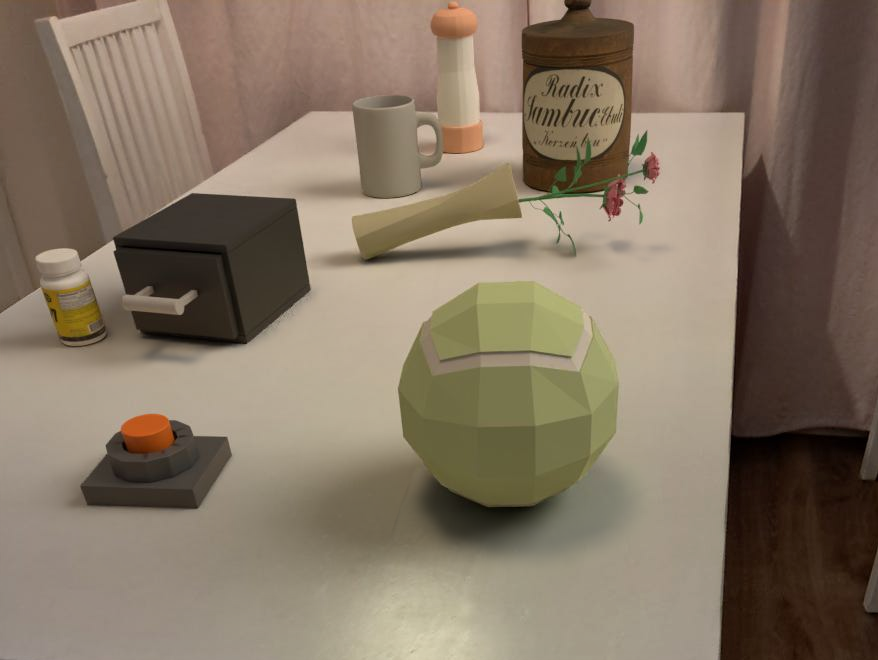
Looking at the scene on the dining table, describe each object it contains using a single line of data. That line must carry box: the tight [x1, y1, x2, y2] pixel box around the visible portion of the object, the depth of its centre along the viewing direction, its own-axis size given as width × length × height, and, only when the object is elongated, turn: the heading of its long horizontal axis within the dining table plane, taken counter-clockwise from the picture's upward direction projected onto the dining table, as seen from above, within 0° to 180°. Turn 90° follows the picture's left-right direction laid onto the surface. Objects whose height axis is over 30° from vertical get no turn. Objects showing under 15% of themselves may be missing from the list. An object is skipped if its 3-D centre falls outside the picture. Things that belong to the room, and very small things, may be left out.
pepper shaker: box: [429, 0, 484, 154], centre depth 140 cm, size 7×7×19 cm
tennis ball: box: [397, 280, 620, 508], centre depth 65 cm, size 15×15×15 cm
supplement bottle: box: [34, 247, 108, 347], centre depth 93 cm, size 5×5×8 cm
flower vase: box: [351, 129, 660, 261], centre depth 107 cm, size 12×12×35 cm
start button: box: [120, 413, 174, 454], centre depth 71 cm, size 4×4×2 cm
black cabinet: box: [112, 192, 312, 344], centre depth 96 cm, size 15×13×10 cm
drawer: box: [112, 247, 240, 339], centre depth 93 cm, size 18×11×8 cm, turn 162°
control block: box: [79, 419, 233, 509], centre depth 72 cm, size 9×8×4 cm
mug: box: [351, 94, 444, 199], centre depth 127 cm, size 12×8×11 cm
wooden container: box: [521, 0, 635, 194], centre depth 123 cm, size 15×15×22 cm
